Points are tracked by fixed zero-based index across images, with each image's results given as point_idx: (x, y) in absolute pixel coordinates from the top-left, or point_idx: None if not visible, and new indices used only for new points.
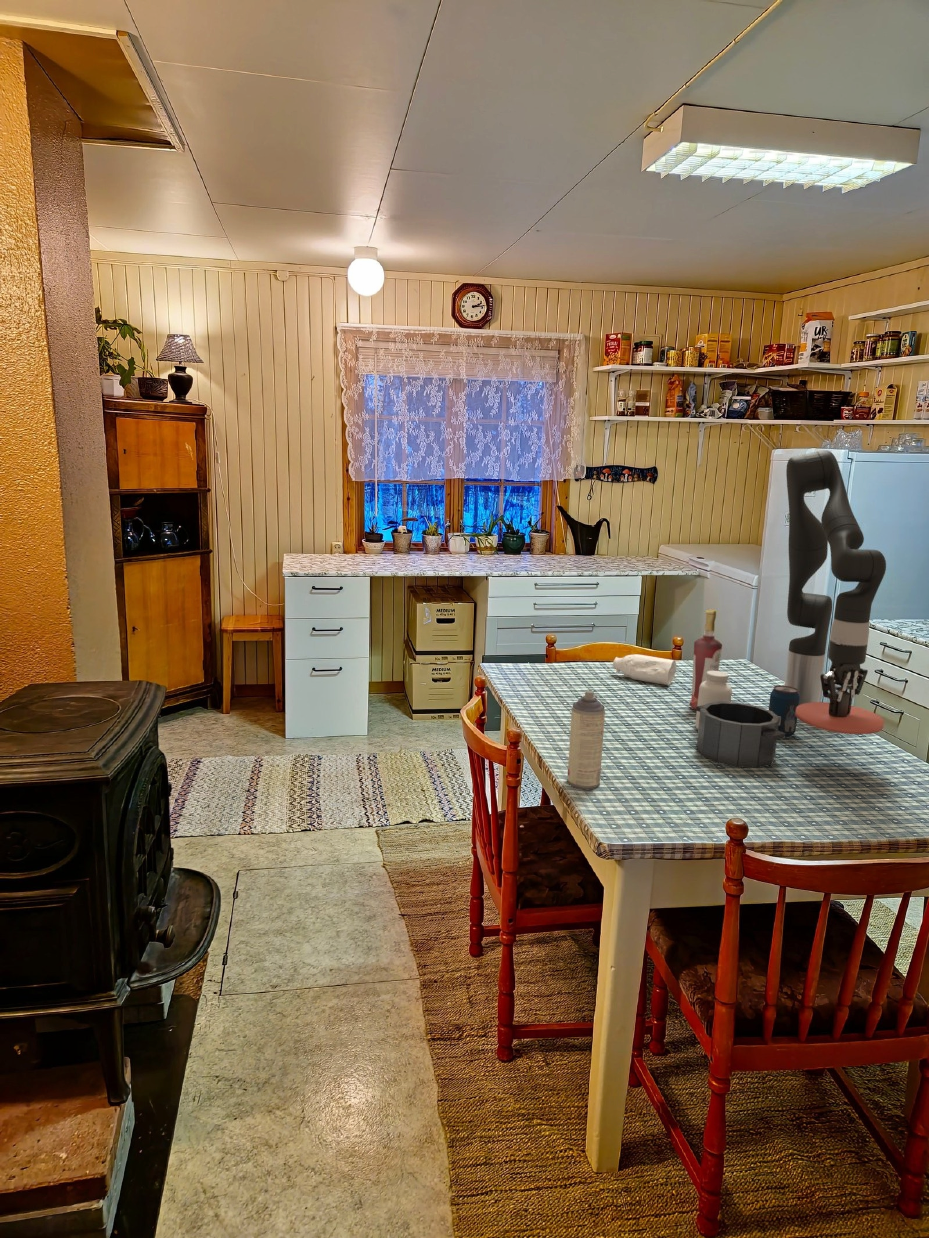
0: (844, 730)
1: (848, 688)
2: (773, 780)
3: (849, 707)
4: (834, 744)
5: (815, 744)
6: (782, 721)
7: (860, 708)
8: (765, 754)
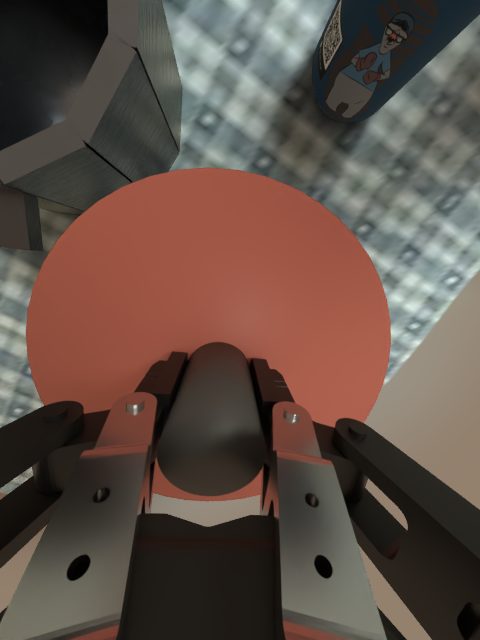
0: None
1: (262, 511)
2: (29, 282)
3: None
4: (376, 230)
5: (339, 201)
6: (335, 64)
7: (382, 371)
8: (56, 208)
